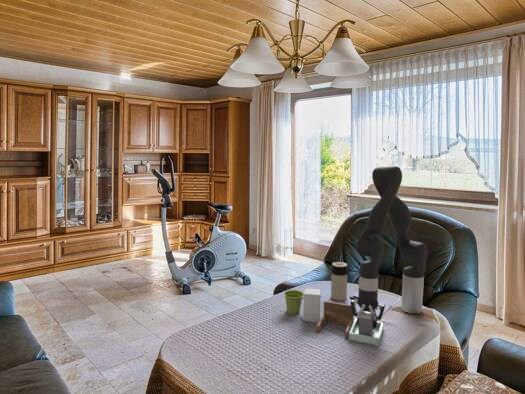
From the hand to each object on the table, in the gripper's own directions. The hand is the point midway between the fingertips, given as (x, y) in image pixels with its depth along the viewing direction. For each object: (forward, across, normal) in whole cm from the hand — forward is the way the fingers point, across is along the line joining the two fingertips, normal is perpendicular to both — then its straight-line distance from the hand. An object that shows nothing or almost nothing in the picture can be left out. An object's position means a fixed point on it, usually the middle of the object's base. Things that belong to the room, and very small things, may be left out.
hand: (366, 326), depth 158 cm
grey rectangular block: (+1, 0, 0) cm, 1 cm away
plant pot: (+4, +35, -10) cm, 37 cm away
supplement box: (+4, +25, -6) cm, 26 cm away
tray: (+3, 0, 0) cm, 3 cm away
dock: (+3, +13, 0) cm, 13 cm away
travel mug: (+4, +19, -35) cm, 40 cm away
